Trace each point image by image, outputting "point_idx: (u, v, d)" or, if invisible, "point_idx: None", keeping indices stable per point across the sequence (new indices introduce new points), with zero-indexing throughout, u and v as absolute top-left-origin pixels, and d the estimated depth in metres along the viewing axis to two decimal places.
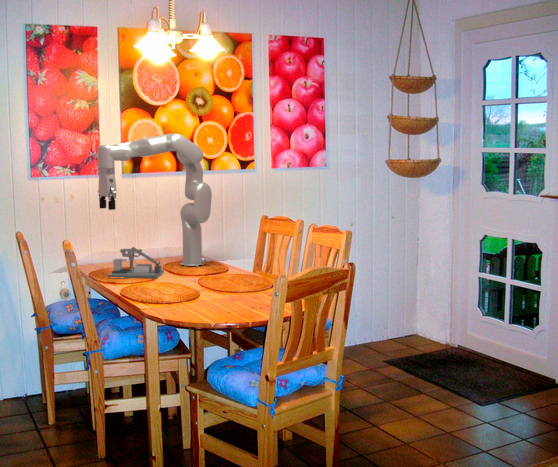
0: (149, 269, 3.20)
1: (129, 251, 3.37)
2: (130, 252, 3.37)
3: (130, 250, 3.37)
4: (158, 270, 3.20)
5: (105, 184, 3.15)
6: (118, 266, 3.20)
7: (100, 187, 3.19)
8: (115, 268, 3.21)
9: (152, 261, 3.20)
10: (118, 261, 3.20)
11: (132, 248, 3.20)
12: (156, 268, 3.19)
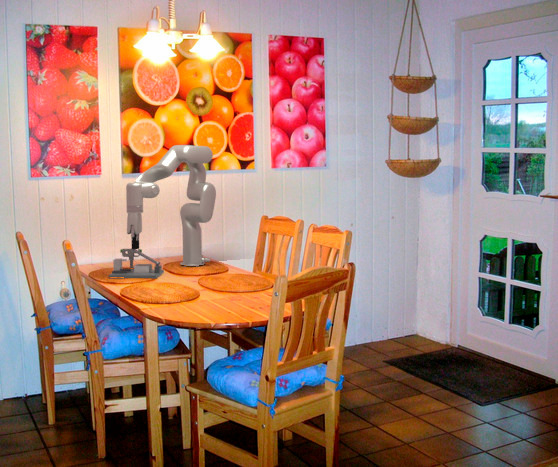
0: (149, 269, 3.20)
1: (129, 251, 3.37)
2: (130, 252, 3.37)
3: (130, 250, 3.37)
4: (158, 270, 3.20)
5: (141, 220, 3.23)
6: (118, 266, 3.20)
7: (139, 225, 3.18)
8: (115, 268, 3.21)
9: (152, 261, 3.20)
10: (118, 261, 3.20)
11: (131, 249, 3.20)
12: (156, 268, 3.19)
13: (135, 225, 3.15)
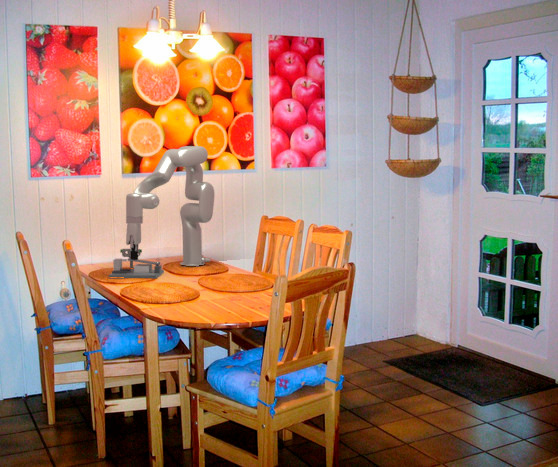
0: (149, 269, 3.20)
1: (129, 251, 3.37)
2: (130, 252, 3.37)
3: (130, 250, 3.37)
4: (158, 270, 3.20)
5: None
6: (118, 266, 3.20)
7: (138, 236, 3.18)
8: (115, 268, 3.21)
9: (151, 263, 3.20)
10: (118, 261, 3.20)
11: (128, 259, 3.21)
12: (156, 268, 3.19)
13: (134, 236, 3.15)
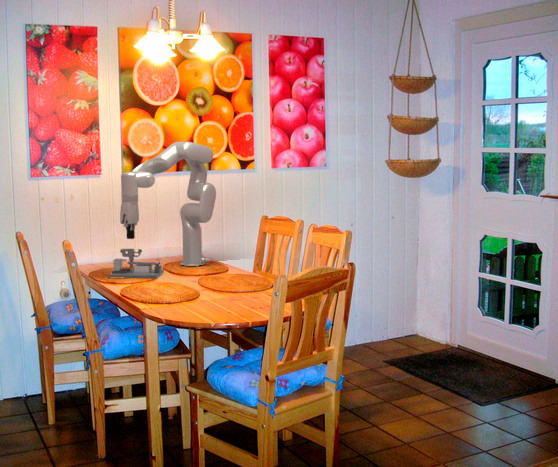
0: (149, 269, 3.20)
1: (129, 251, 3.37)
2: (130, 252, 3.37)
3: (130, 250, 3.37)
4: (158, 270, 3.20)
5: (138, 210, 3.22)
6: (118, 266, 3.20)
7: (132, 215, 3.17)
8: (115, 268, 3.21)
9: (151, 264, 3.20)
10: (118, 261, 3.20)
11: (128, 263, 3.21)
12: (156, 268, 3.19)
13: (127, 215, 3.14)
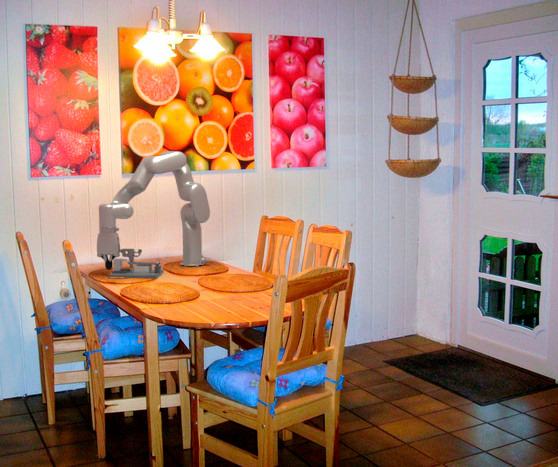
0: (149, 269, 3.20)
1: (129, 251, 3.37)
2: (130, 252, 3.37)
3: (130, 250, 3.37)
4: (158, 270, 3.20)
5: (114, 243, 3.19)
6: (118, 266, 3.20)
7: (103, 246, 3.19)
8: (115, 268, 3.21)
9: (151, 264, 3.20)
10: (118, 261, 3.20)
11: (128, 263, 3.21)
12: (156, 268, 3.19)
13: None
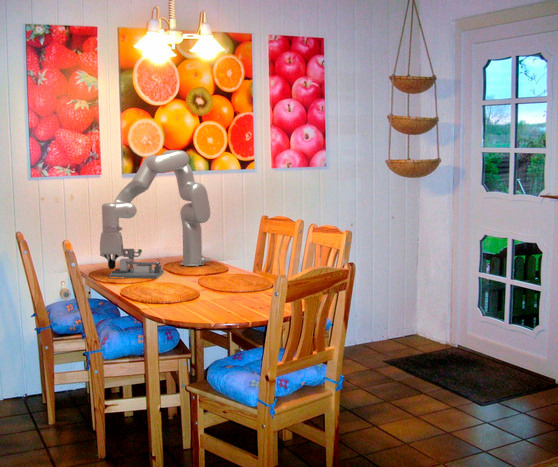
0: (149, 269, 3.20)
1: (129, 251, 3.37)
2: (130, 252, 3.37)
3: (130, 250, 3.37)
4: (158, 270, 3.20)
5: (117, 242, 3.19)
6: (124, 266, 3.20)
7: (106, 245, 3.19)
8: (121, 268, 3.20)
9: (151, 264, 3.20)
10: (124, 261, 3.20)
11: (128, 263, 3.21)
12: (156, 268, 3.19)
13: (100, 244, 3.20)
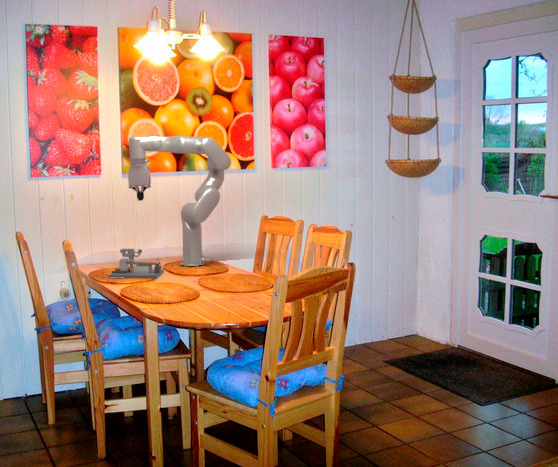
0: (149, 269, 3.20)
1: (129, 251, 3.37)
2: (130, 252, 3.37)
3: (130, 250, 3.37)
4: (158, 270, 3.20)
5: (145, 174, 3.30)
6: (124, 266, 3.20)
7: (134, 177, 3.30)
8: (121, 268, 3.20)
9: (151, 264, 3.20)
10: (124, 261, 3.20)
11: (128, 263, 3.21)
12: (156, 268, 3.19)
13: (128, 177, 3.31)
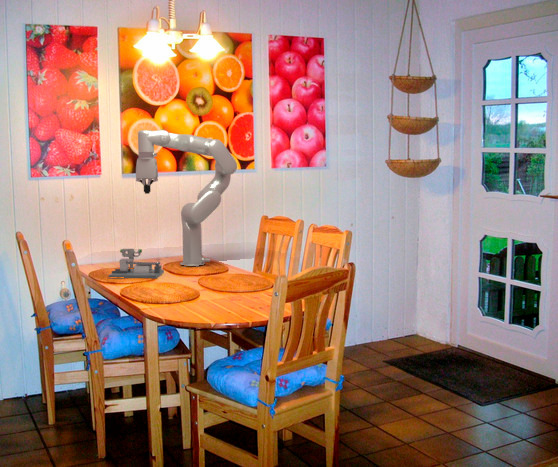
0: (149, 269, 3.20)
1: (129, 251, 3.37)
2: (130, 252, 3.37)
3: (130, 250, 3.37)
4: (158, 270, 3.20)
5: (152, 167, 3.34)
6: (124, 266, 3.20)
7: (142, 170, 3.34)
8: (121, 268, 3.20)
9: (151, 264, 3.20)
10: (124, 261, 3.20)
11: (128, 263, 3.21)
12: (156, 268, 3.19)
13: (136, 170, 3.35)
